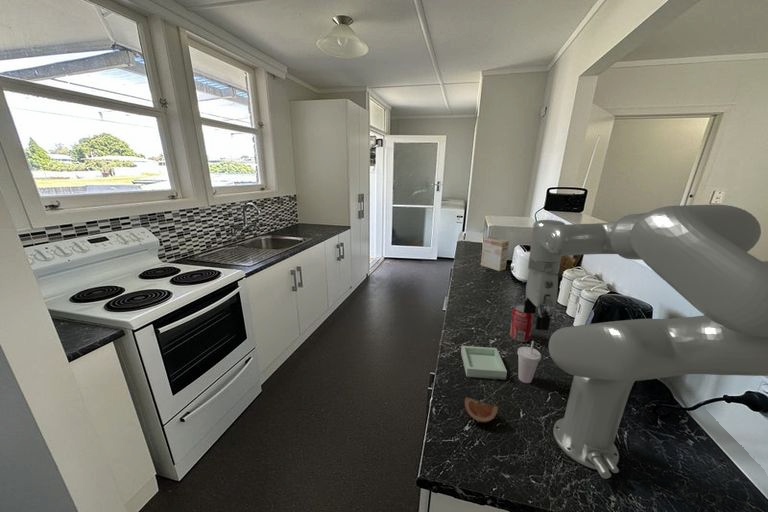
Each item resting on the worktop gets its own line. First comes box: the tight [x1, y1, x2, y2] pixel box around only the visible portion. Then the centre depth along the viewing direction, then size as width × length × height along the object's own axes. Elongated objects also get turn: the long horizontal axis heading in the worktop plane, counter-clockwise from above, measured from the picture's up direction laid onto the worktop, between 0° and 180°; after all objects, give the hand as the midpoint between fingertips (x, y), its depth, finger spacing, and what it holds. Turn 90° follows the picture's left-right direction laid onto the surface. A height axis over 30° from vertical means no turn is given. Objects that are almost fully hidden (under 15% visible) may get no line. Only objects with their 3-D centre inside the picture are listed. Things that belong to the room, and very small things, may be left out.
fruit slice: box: [463, 396, 499, 423], centre depth 72 cm, size 8×7×5 cm
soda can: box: [509, 303, 535, 343], centre depth 105 cm, size 7×7×13 cm
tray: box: [460, 345, 508, 380], centre depth 92 cm, size 12×12×3 cm
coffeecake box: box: [480, 236, 510, 272], centre depth 184 cm, size 15×7×20 cm, turn 32°
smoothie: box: [516, 340, 542, 384], centre depth 84 cm, size 6×6×14 cm
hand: (535, 320), depth 81 cm, fingers open, 9 cm apart
